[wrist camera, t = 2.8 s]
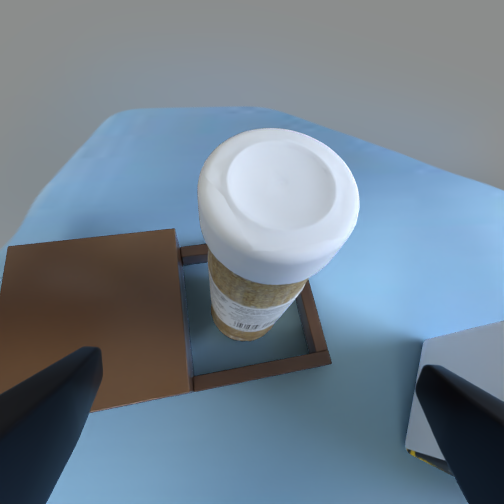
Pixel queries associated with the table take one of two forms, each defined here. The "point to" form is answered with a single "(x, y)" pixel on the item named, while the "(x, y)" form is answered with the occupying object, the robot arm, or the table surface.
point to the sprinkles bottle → (270, 223)
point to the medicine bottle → (464, 365)
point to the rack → (120, 316)
